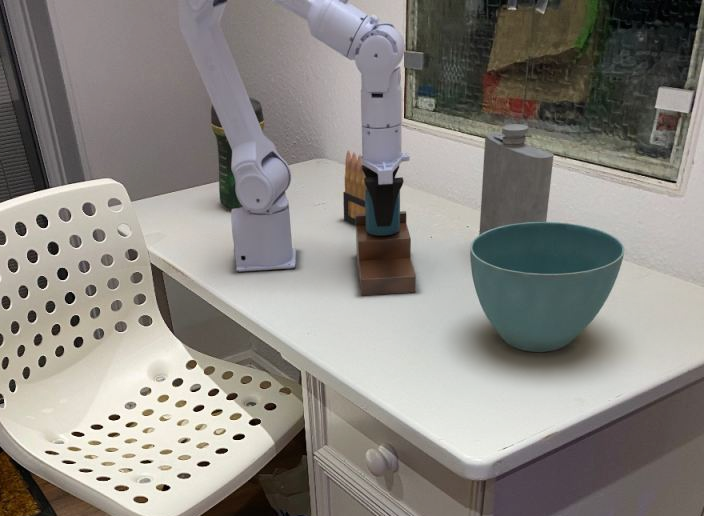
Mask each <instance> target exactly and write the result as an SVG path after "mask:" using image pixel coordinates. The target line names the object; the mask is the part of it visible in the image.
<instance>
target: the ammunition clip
mask: <svg viewBox="0 0 704 516" xmlns="http://www.w3.org/2000/svg"><path fill="white" fill-rule="evenodd" d="M361 157H362V154H359V155H358V157H357V154H356V152H353V153H352V155H351V152H350V150H347V151H346V155H345V164H344V165H345V166H344V191H343V199H342V200H343V221H344V222H346V223H348V224H350V225H352V226H355V227H356V219H355V214H366V211H365V190H366V189H367V187H366V185H365V182H364V178H366V176H365V174H364V172H363V170H362V165H363V164H362V163H361Z"/></svg>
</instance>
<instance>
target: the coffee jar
mask: <svg viewBox="0 0 704 516" xmlns="http://www.w3.org/2000/svg"><path fill="white" fill-rule="evenodd" d="M249 99H250V102H251V104H252V107H253V109H254V112H255V114H256V117H257V119H258V122H259V124H260V127H261V129H262V132H263V131H264V128H265V119H264V113H263V107H262V104H261V102H260V101H259V100H257V99H255V98H253V97H249ZM210 126H211V130H212V132H213V134H214V136H215V139H216V145H217V156H218V190H219V191H218V192H219V202H220V204H221V205H222V206H223V208H224V209H227V210H232V209H234V208H241V207H243V206H242V204H241V203H240V202H239V200H238V198H237V195H236V190H235V188H236V182H235V177H234V174H233V172H232V169H231V164H232V149H231V146H230V144H229V142H228V139H227V137H226V135H225V132H224V130H223V128H222V125H221V123H220V121H219V118H218V116H217V113H216V111H215V109H214V106H213V104H212V103H211V108H210ZM263 133H264V132H263Z"/></svg>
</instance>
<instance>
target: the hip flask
mask: <svg viewBox="0 0 704 516" xmlns="http://www.w3.org/2000/svg"><path fill="white" fill-rule="evenodd" d="M528 133H529V126H528V125H526V124H522V123H521V124H520V123H511V124H506V125H503V126H502V127H501V131H492V132H488V133H486V134H484V151H483V152H484V153H483V165H482V166H483V168H482V184H481V200H480V201H481V202H480V217H479V218H480V219H479V235H480V234H482V233H484V232H486V231H488V230H491V229H494V228H497V227H501V226H505V225H511V224H518V223H527V222H547V220H548V219H547V218H548V210H549V200H550V194H551V193H550V191H551V182H552V174H553V173H552V172H553V165H554V155H555V154H554V153H553V152H550V151H547V150H543V149H540V148H537V147H534V146H531V145H529V144H527V143H526V141H527V140H526V138H527V134H528ZM479 235H478V236H479Z"/></svg>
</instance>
